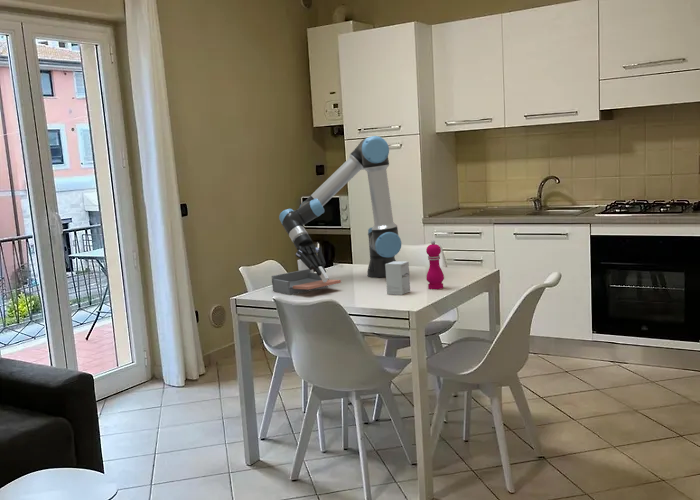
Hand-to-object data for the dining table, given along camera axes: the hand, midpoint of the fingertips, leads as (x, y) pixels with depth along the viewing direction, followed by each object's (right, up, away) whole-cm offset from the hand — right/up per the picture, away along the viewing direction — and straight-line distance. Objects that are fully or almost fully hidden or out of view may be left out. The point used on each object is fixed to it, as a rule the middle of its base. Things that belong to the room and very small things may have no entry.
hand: (326, 280), depth 295 cm
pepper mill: (+46, -3, -4) cm, 46 cm away
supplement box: (+30, -5, -8) cm, 31 cm away
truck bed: (-12, -5, +17) cm, 21 cm away
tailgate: (-8, -2, +11) cm, 14 cm away
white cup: (-10, -2, +39) cm, 40 cm away
